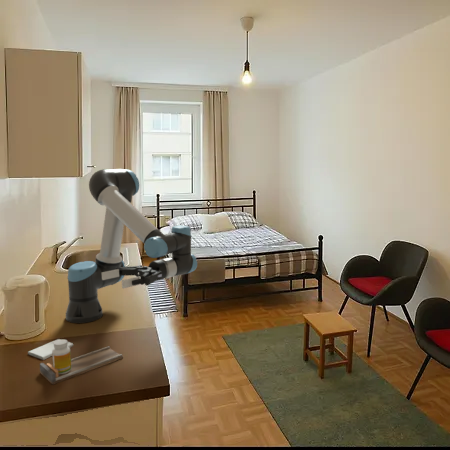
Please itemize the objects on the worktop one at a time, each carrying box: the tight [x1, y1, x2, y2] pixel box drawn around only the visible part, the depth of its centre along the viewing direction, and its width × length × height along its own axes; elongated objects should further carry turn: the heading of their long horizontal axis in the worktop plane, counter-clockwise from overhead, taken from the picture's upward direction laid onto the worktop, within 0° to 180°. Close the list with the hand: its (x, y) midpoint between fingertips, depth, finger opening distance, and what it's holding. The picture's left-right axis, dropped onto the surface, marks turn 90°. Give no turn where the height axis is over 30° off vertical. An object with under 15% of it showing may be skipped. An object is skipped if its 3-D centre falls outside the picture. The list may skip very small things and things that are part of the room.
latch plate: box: [45, 362, 59, 378], centre depth 126 cm, size 7×1×2 cm, turn 45°
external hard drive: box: [27, 338, 74, 361], centre depth 144 cm, size 2×8×12 cm
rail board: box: [39, 345, 124, 385], centre depth 133 cm, size 10×24×3 cm, turn 135°
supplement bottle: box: [51, 338, 72, 375], centre depth 128 cm, size 5×5×10 cm
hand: (111, 280), depth 140 cm, fingers open, 13 cm apart
